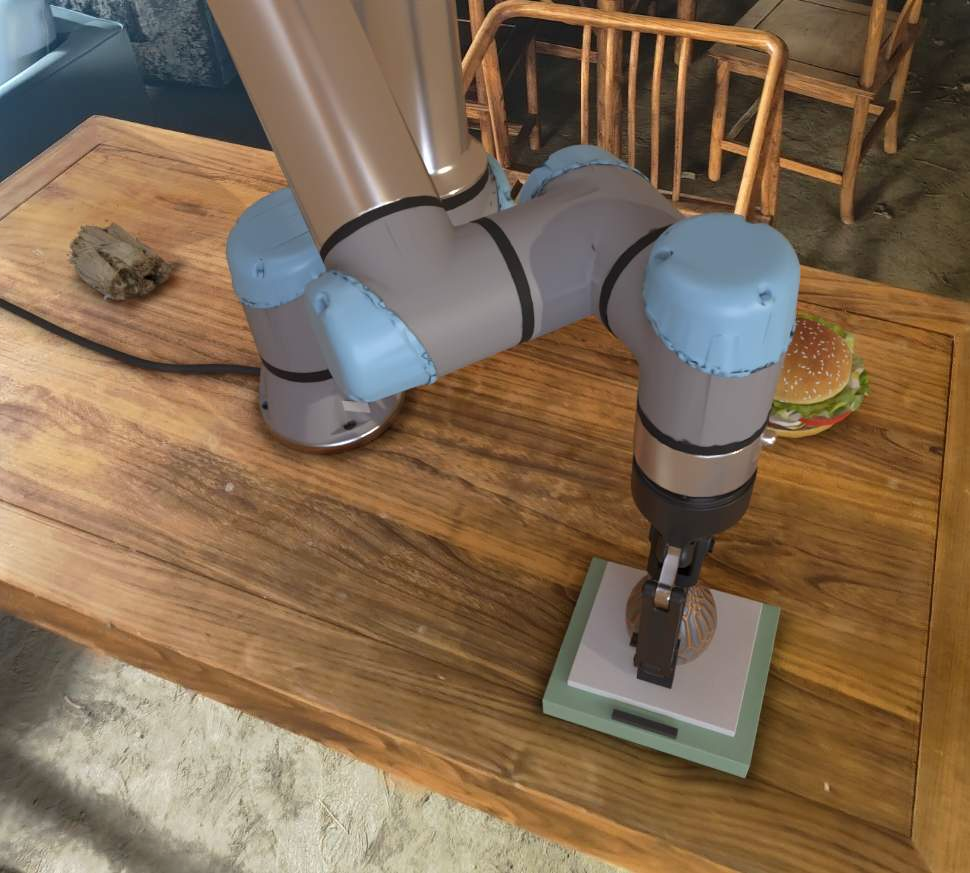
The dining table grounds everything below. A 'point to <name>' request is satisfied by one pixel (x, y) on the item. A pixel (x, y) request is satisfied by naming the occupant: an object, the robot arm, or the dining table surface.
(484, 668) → the dining table surface
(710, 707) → the scale
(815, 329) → the food
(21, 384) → the dining table surface
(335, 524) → the dining table surface
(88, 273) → the grey-brown fibrous clump
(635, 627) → the vase
